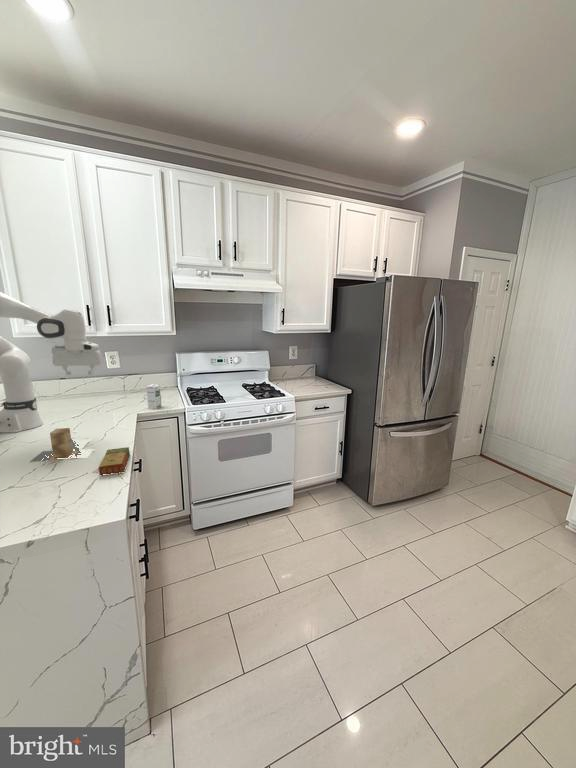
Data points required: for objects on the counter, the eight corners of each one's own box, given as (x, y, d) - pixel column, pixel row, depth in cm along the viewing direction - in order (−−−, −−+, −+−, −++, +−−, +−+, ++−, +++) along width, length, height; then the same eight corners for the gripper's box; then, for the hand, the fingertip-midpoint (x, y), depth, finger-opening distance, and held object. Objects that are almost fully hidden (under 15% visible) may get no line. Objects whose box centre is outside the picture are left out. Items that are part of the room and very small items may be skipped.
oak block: (53, 458, 128) (49, 433, 125) (59, 453, 132) (56, 428, 130) (67, 457, 129) (63, 432, 126) (73, 452, 133) (69, 428, 131)
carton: (99, 477, 115) (97, 466, 114) (108, 458, 130) (106, 448, 129) (124, 473, 118) (123, 463, 117) (130, 455, 133) (129, 446, 132)
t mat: (29, 462, 125) (29, 461, 125) (57, 439, 147) (57, 439, 147) (87, 458, 129) (87, 457, 129) (107, 437, 151) (107, 436, 151)
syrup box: (156, 409, 195) (154, 386, 192) (147, 408, 196) (145, 385, 193) (161, 406, 200) (160, 384, 197) (153, 406, 202) (151, 383, 198)
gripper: (47, 346, 142) (51, 376, 145) (97, 346, 146) (100, 375, 149) (54, 344, 148) (58, 373, 151) (102, 344, 152) (105, 373, 155)
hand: (79, 374), depth 150 cm, fingers open, 8 cm apart
